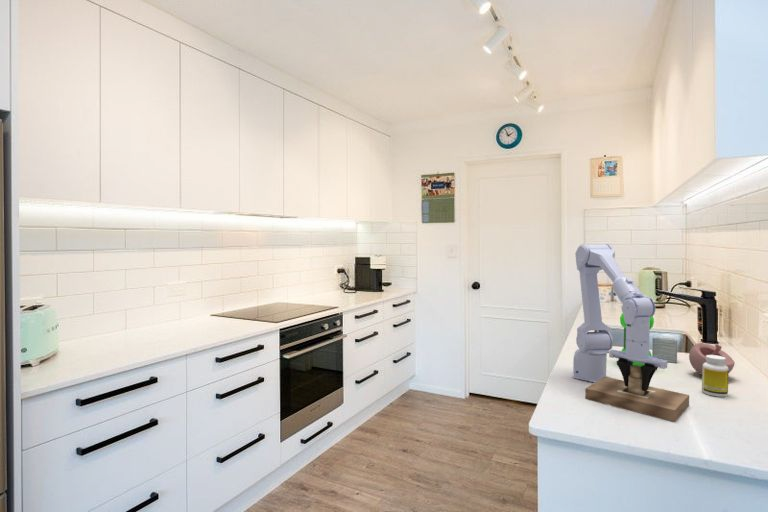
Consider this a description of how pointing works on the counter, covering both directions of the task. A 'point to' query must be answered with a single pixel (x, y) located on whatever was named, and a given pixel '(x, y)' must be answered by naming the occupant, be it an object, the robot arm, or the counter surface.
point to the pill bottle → (715, 376)
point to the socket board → (638, 399)
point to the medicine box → (665, 348)
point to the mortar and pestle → (701, 350)
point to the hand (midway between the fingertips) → (636, 387)
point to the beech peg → (635, 380)
